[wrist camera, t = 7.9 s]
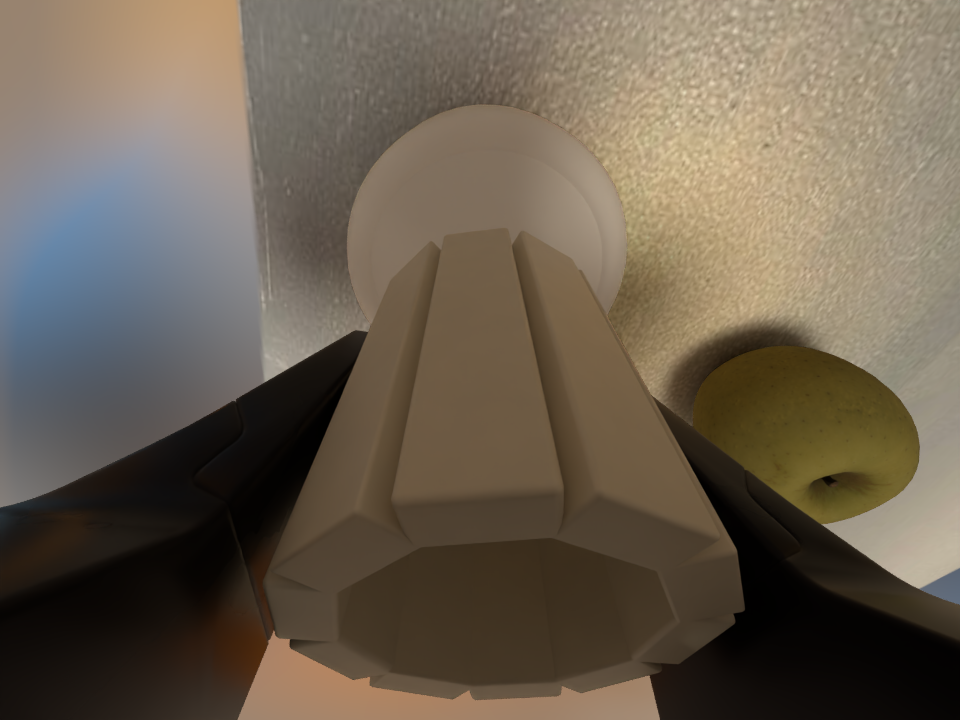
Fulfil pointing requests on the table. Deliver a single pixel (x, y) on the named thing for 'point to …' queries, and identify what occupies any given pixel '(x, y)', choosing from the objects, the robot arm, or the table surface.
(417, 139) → the thick white disc
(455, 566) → the fluted vase
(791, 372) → the apple
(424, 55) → the table surface
